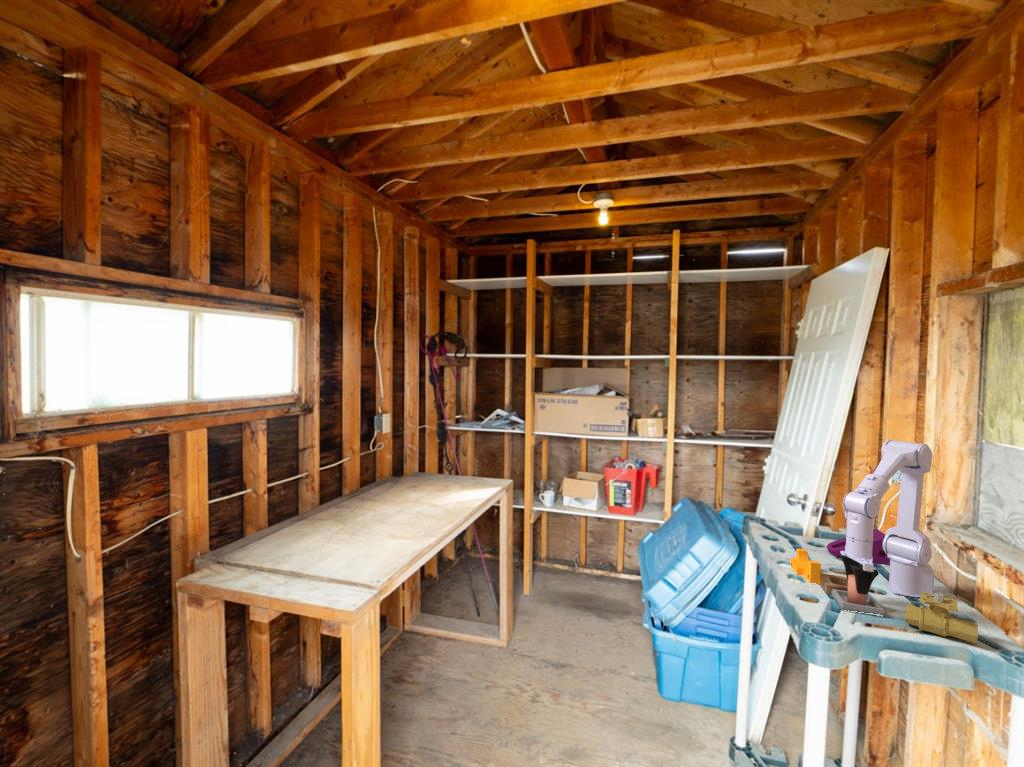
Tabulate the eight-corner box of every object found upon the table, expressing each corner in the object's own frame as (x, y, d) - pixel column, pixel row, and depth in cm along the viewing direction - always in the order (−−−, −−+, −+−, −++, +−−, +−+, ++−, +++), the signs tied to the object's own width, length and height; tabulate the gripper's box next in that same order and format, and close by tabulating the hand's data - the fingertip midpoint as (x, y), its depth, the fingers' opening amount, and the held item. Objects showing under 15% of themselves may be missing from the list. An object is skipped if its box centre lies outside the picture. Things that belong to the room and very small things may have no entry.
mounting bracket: (843, 576, 158) (901, 561, 153) (831, 553, 160) (889, 537, 154) (833, 566, 167) (888, 551, 162) (823, 543, 168) (877, 528, 163)
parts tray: (870, 602, 127) (870, 594, 127) (883, 617, 119) (884, 610, 119) (831, 595, 130) (832, 588, 130) (842, 610, 122) (842, 603, 122)
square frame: (852, 586, 137) (853, 578, 137) (864, 599, 128) (864, 590, 128) (817, 580, 140) (817, 572, 140) (826, 593, 131) (826, 584, 131)
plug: (862, 601, 125) (863, 576, 125) (867, 608, 122) (869, 582, 122) (845, 598, 127) (846, 573, 127) (849, 605, 123) (851, 579, 123)
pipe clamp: (789, 567, 150) (790, 547, 150) (804, 569, 149) (805, 549, 149) (803, 583, 138) (804, 562, 138) (820, 585, 137) (820, 563, 137)
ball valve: (904, 630, 113) (906, 589, 113) (907, 615, 121) (909, 577, 120) (977, 652, 104) (979, 608, 104) (975, 635, 112) (977, 594, 112)
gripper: (833, 527, 132) (831, 574, 132) (851, 544, 119) (849, 596, 119) (862, 531, 130) (860, 579, 130) (884, 548, 116) (882, 602, 116)
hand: (857, 587), depth 124 cm, fingers open, 7 cm apart
